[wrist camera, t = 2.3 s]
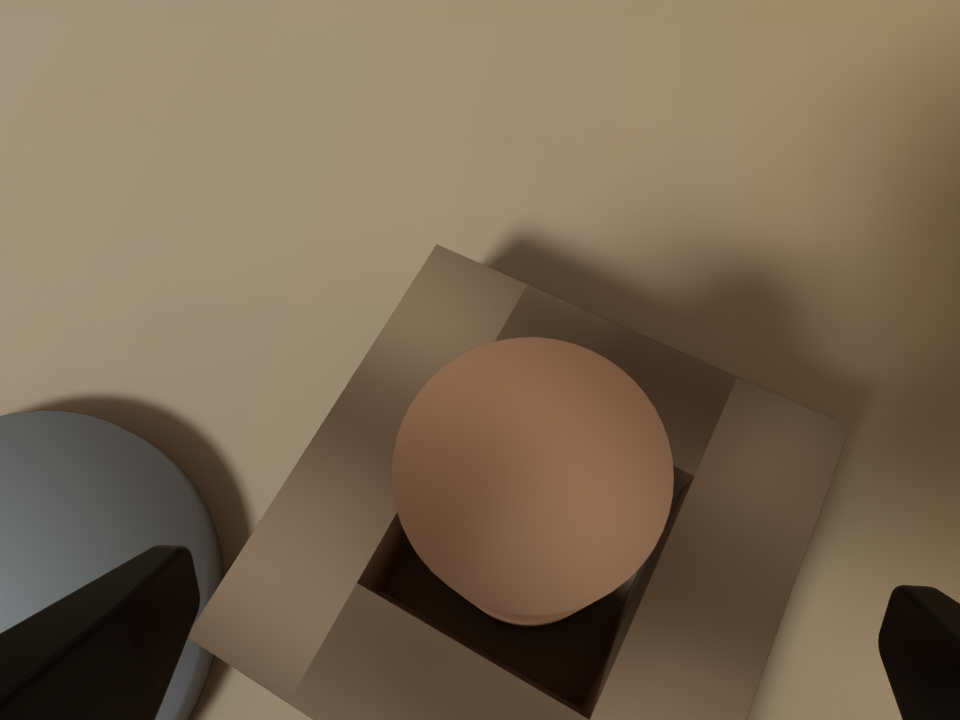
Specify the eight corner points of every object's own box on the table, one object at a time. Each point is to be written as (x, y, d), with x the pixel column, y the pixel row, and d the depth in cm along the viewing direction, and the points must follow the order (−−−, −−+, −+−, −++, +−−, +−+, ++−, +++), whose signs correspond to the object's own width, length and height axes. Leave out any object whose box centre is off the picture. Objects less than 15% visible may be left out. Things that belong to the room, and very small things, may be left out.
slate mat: (28, 980, 15) (-4, 1003, 14) (-283, 713, 18) (-328, 717, 17) (303, 531, 19) (292, 526, 18) (10, 361, 21) (-14, 348, 20)
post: (562, 658, 17) (600, 674, 9) (424, 578, 18) (338, 524, 10) (628, 513, 18) (716, 406, 10) (495, 446, 19) (474, 297, 11)
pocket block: (637, 892, 15) (663, 949, 12) (239, 637, 18) (186, 637, 15) (801, 459, 18) (850, 426, 16) (448, 296, 21) (436, 244, 18)
